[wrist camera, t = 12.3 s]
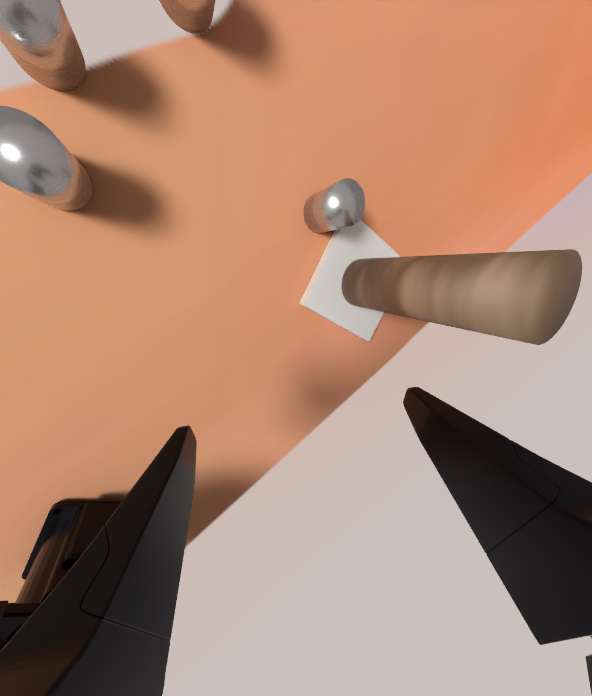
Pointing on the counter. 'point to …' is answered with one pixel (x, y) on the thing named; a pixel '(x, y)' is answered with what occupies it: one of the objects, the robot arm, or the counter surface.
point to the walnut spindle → (472, 290)
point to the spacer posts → (68, 73)
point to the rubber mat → (328, 276)
